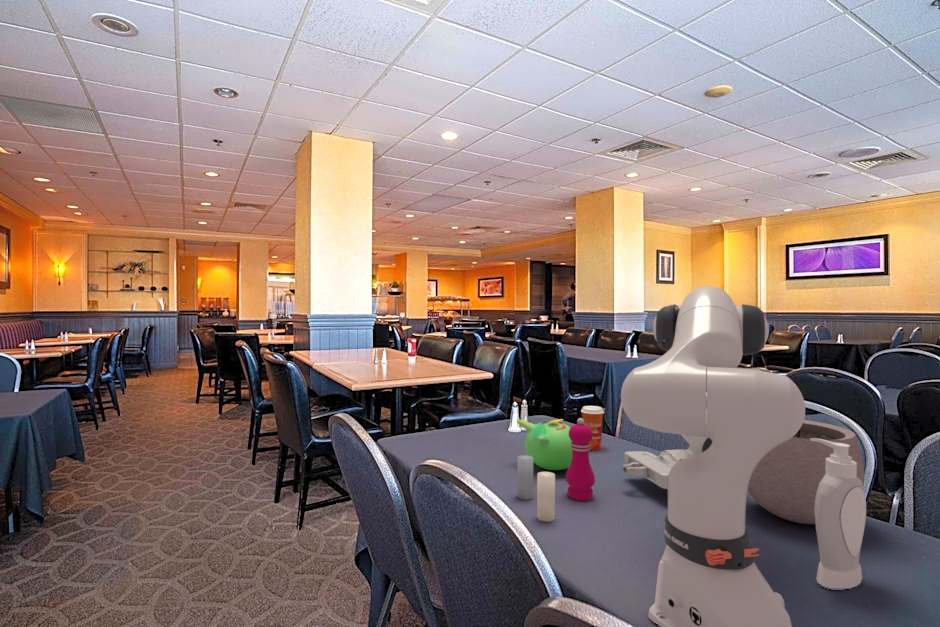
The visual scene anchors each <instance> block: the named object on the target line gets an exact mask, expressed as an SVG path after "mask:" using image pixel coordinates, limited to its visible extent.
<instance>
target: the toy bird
mask: <svg viewBox="0 0 940 627" xmlns="http://www.w3.org/2000/svg"><path fill="white" fill-rule="evenodd" d="M563 421H564V419H563V418H560V419H559V418H557V419H553V420H545V421H541V422H537V423H533V422H529V421H525V420H522V419H517V420H516V423H517V424H518V425H519V426H520V427H522V428H523V429H525V430H526V431H527V432H526V435H525V438H524V448H525V452H526V455H528V456H532V457H533V464H535V465H536V466H538V467H540V468H542V469H545V470H548V471H563V470H566V469H567V470H568V468H569V466H570V463H571V460H572V449H571V448H570V447H571V442H572V441H571V439H570V438H569V429H570V428H571V426H569V425H568V424H566V423H565V422H564V423H563Z"/></svg>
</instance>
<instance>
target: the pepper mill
mask: <svg viewBox="0 0 940 627" xmlns="http://www.w3.org/2000/svg"><path fill="white" fill-rule="evenodd" d="M570 427H571V428H570V429H569V438H570V439H571V441H572V442H571V447H570V448H571V449H572V460H571V463H570V466H569V468H567V471H566V473H565V481H566V483H567V484H568V487H567V496H568V497H569V498H570V497H571V498H570V499H572V498H573V500H575V499H576V501H589V499H590V500H592V499H593V497H594V490H593V488H592V487H593V486H594V485H595V483H596V480H595V479H596V478H595V477H596V476H595V473H594V470H593V468H592V465H591V463H590V457H589V452H590V451H589V450H590V449H591V448H590V445H591V444H590V443H589V442H590V441H591V440H592V437H593V434H592V430H591V428H590V427H589V426H587V425H585V424H584V420H583V419H582V417H579V418H578V419H577V420H576V423H574V424H573V425H571V426H570ZM591 498H592V499H591Z"/></svg>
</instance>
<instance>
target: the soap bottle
mask: <svg viewBox="0 0 940 627" xmlns="http://www.w3.org/2000/svg"><path fill="white" fill-rule="evenodd" d="M810 441H816V442H820V443H823V444H825V445H827V446H829V447H832V448H833V450H834V453H833V454H830V457H827V458H826V463H825V472H826V473H825V476H824V477H823V479H822V480H821V481H820V483H819V487H818V489H817V493H816V498H815V523H816V524H815V530H816V536H817V537H816V540H817V545H818V552H819V559H820V560H819V563H818V566H817V573H816V579H815V581H816V580H817V581H816V583H817V582H818V583H819V584H821V585H822V586H826V587H829V588H851V587H855V586H857V585H858V584H860V583H861V584H862V581H863V573H862V566H861V563H859V562H860V555H861V547H862V543H863V537H864V534H865V533H864V532H865V526H866V520H867V501H866V495H865V491H864V485H862V481H861V480H860V479H859V478H857V463H856V462H854V461H852V457H850V456H848V447H850V445H848V444H844V443H834V442H830V441H827V440H823V439H817V438H810ZM861 580H862V581H861ZM818 583H817V584H818ZM861 584H860V585H861Z"/></svg>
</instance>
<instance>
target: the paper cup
mask: <svg viewBox="0 0 940 627" xmlns="http://www.w3.org/2000/svg"><path fill="white" fill-rule="evenodd" d="M580 412H581V418H582V419H583V420H584V424H585V425H587V426H589V427H590V428H591V430H592V434H593V437H592V440H591V441H590V442H589V443H590V444H591V445H590V448H591V449H590V450H599V449H600V450H601V447H602V437H603V436H602V434H603V423H604V422H603V420H604V419H603V417H604V414H605V411H604V409H603V407H601V406H596V405H584V406H582V408H581V410H580ZM600 450H599V451H600Z"/></svg>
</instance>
